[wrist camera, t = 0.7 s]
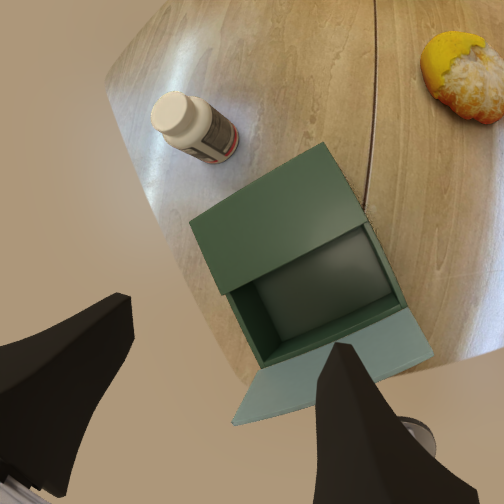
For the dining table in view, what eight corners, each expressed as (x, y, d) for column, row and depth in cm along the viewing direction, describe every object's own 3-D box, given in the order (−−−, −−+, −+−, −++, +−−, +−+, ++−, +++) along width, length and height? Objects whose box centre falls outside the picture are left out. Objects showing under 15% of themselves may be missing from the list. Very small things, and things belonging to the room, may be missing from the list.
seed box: (398, 293, 26) (409, 308, 19) (281, 346, 30) (257, 372, 24) (332, 164, 28) (323, 140, 21) (224, 226, 32) (187, 221, 26)
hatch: (408, 306, 20) (409, 311, 20) (257, 370, 24) (260, 374, 24) (432, 350, 13) (434, 355, 13) (230, 422, 17) (233, 426, 17)
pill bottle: (226, 112, 32) (180, 73, 23) (248, 146, 31) (204, 111, 22) (190, 139, 34) (137, 111, 25) (209, 174, 33) (155, 151, 24)
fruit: (443, 140, 24) (451, 83, 17) (407, 72, 27) (402, 19, 20) (523, 130, 20) (543, 80, 13) (482, 66, 23) (487, 17, 16)
